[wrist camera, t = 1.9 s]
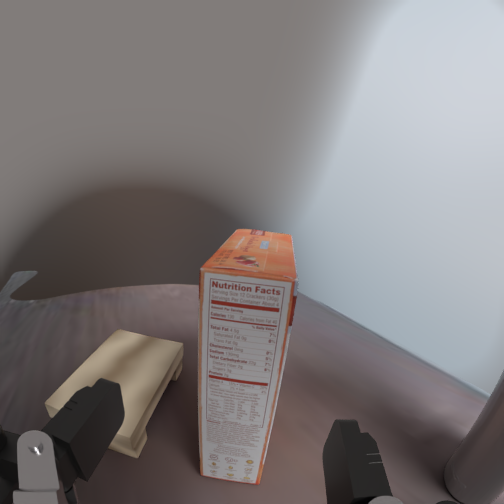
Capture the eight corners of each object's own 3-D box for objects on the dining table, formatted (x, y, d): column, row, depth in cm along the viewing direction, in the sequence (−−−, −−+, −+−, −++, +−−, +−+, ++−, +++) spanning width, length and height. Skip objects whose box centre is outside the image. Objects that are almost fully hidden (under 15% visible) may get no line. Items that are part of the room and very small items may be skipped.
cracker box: (221, 391, 35) (235, 226, 30) (269, 398, 34) (296, 233, 30) (194, 476, 21) (195, 261, 17) (259, 487, 21) (305, 275, 16)
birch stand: (183, 366, 39) (183, 343, 38) (136, 462, 22) (129, 437, 21) (120, 352, 40) (117, 328, 39) (55, 428, 22) (44, 403, 21)
